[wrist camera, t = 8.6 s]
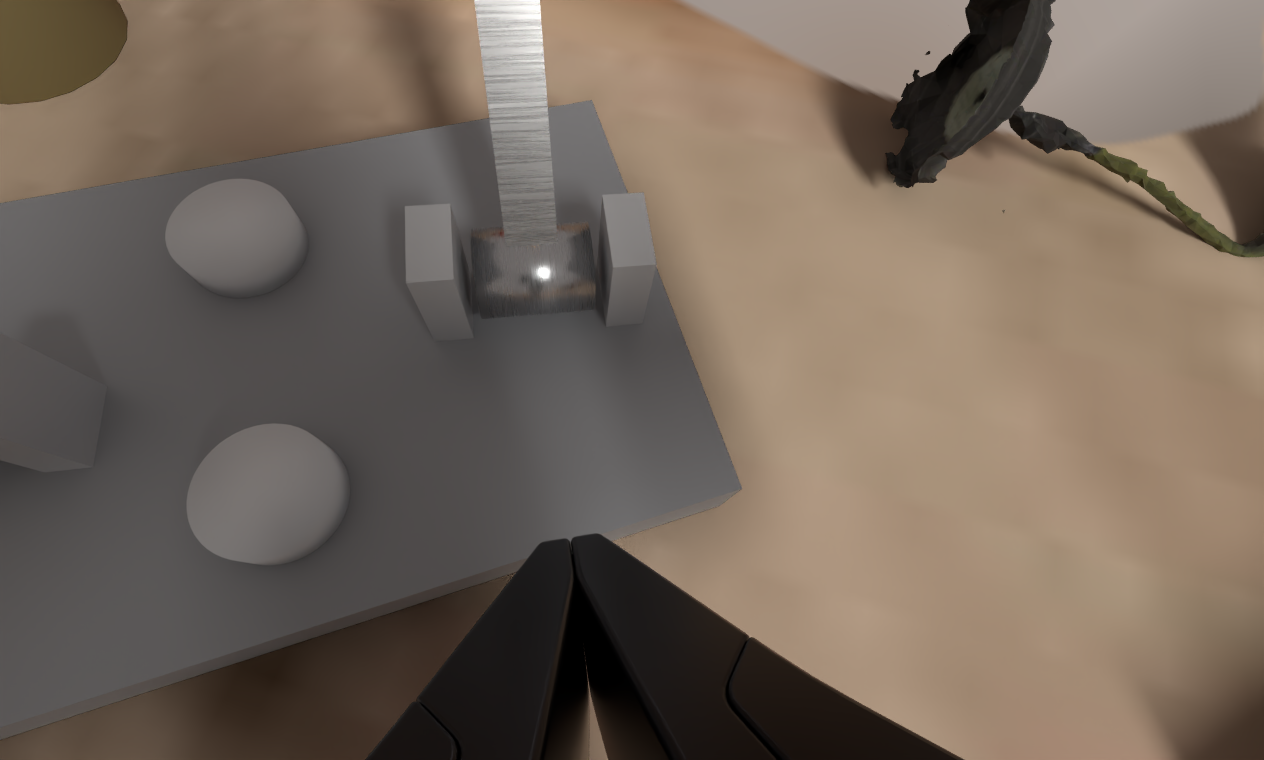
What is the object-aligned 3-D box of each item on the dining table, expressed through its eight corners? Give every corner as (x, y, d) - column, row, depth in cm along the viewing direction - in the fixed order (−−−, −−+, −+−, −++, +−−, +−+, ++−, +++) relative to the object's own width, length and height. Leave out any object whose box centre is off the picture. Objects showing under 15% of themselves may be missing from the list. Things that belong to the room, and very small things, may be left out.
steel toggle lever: (603, 333, 15) (581, -357, 8) (477, 344, 14) (353, -373, 8) (589, 279, 17) (563, -289, 11) (481, 287, 17) (388, -298, 10)
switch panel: (719, 505, 18) (780, 459, 12) (-156, 790, 13) (-604, 896, 8) (589, 155, 22) (595, 13, 17) (-109, 289, 18) (-388, 155, 12)
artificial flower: (871, 88, 26) (1062, -218, 19) (1305, 270, 28) (1643, 63, 21) (879, 208, 21) (1154, -155, 13) (1417, 423, 23) (1936, 221, 15)
